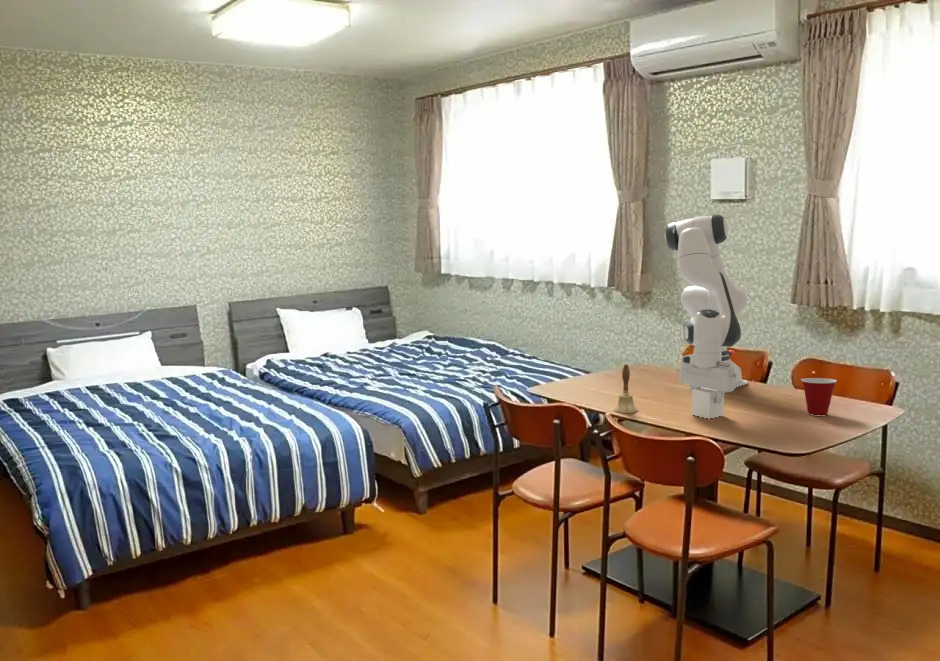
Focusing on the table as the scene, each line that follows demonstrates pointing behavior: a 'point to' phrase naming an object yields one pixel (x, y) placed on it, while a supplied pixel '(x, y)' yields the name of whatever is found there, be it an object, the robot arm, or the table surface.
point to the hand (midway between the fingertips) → (706, 400)
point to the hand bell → (625, 395)
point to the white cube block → (706, 403)
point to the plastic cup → (818, 394)
